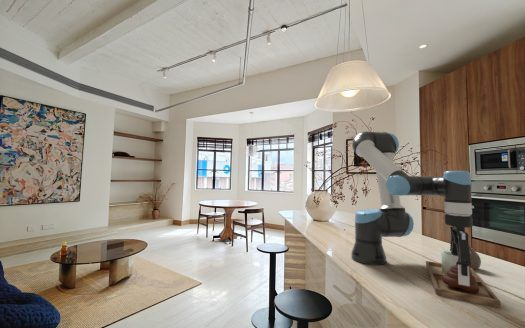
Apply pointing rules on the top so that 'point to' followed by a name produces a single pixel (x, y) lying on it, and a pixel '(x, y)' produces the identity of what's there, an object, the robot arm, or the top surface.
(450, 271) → the poop emoji
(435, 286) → the divided wooden tray
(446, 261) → the jar
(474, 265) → the vase
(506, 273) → the top surface
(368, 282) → the top surface
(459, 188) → the robot arm
